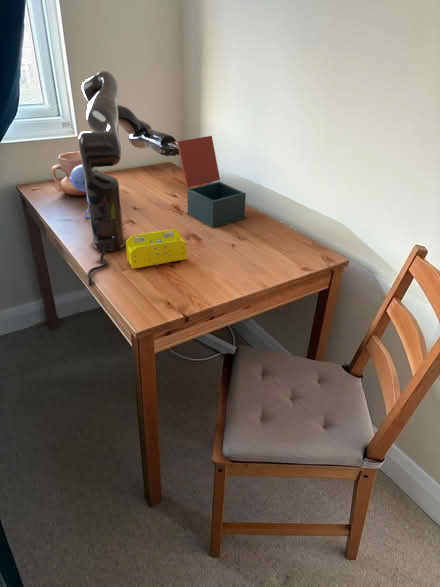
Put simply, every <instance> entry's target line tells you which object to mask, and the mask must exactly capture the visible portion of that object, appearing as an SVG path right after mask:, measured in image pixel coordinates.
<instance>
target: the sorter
mask: <svg viewBox="0 0 440 587" xmlns="http://www.w3.org/2000/svg"><path fill="white" fill-rule="evenodd" d="M186 190H187V215H189V216H191V217H193V218H195V219H196V220H198V221H200V222H202V223H203V224H205V225H207V226H209V227H211V228H216V227H219V226H222V225H226V224H230V223H232V222H236V221H239V220H243V219H245V215H246V201H247V200H246V197H247V193H246V192H244V191H242V190H239V189H237V188H235V187H232V186H231V185H228V184H226V183H225V182H222V181H215V182H210V183H206V184H202V185H198V186H194V187H189V188H187V189H186Z"/></svg>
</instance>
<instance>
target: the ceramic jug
mask: <svg viewBox="0 0 440 587" xmlns="http://www.w3.org/2000/svg"><path fill="white" fill-rule="evenodd" d="M58 161H59V163H60V164H55V165H53V166H52V167H51V169H50V174H51V177H52V179H53V181H54V182H55V183H56V184H57V186H58V188H59V189H60V190H61V191H62V192H63V193H64V194H67V195H71V196H86V192H85V191H80V190H78V189H76V188H75V187H74V186H73V184H72V183H71V180H70V176H71V173H72V171H73V169H74V168H75V167H77V166H79V165H82V161H81V156H80V151H79V150H78V151H70V152H63V153H60V154H59V155H58ZM56 170H60V171H62V172H64V173H65V174H66V176H65V177H64V178H62V179H61V180H60V181H59V178H58V177H57V176H56Z"/></svg>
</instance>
